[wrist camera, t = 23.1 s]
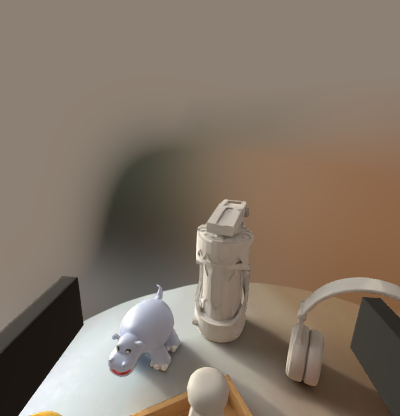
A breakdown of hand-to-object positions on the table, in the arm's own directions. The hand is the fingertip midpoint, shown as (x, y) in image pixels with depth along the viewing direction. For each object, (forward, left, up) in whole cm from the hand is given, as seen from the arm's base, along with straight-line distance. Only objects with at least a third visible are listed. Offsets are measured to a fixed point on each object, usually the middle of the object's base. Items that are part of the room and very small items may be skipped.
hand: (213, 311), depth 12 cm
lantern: (-30, +19, -30) cm, 46 cm away
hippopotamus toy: (-28, +2, -30) cm, 41 cm away
